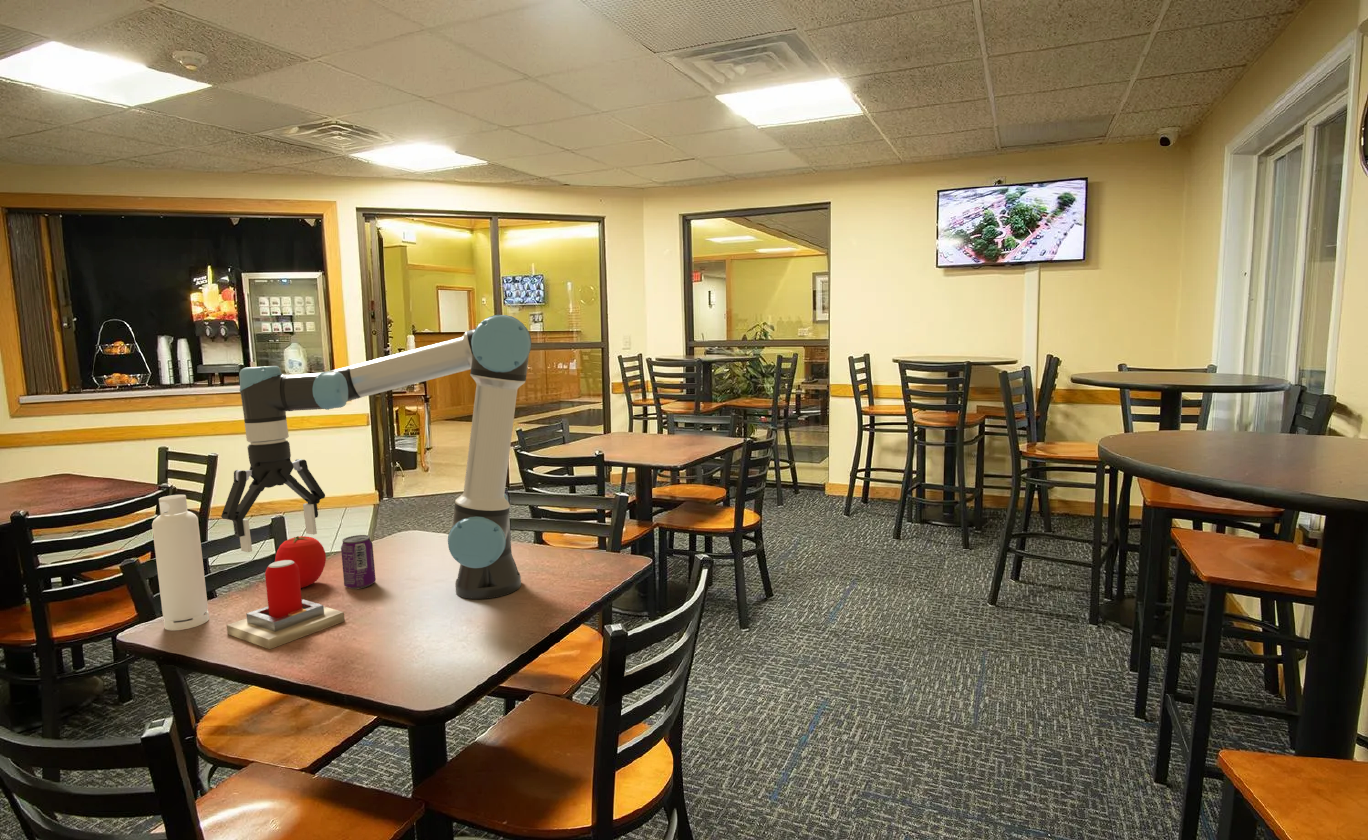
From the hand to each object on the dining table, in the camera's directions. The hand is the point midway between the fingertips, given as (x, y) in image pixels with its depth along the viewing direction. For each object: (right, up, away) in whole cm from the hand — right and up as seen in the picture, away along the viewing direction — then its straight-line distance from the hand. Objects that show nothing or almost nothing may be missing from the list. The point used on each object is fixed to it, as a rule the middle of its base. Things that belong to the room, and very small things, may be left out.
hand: (280, 542), depth 152 cm
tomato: (-10, -16, +29) cm, 34 cm away
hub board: (0, -18, +2) cm, 19 cm away
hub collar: (0, -16, +2) cm, 17 cm away
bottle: (-24, -19, +7) cm, 31 cm away
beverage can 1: (0, -17, +2) cm, 17 cm away
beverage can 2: (+4, -16, +28) cm, 32 cm away
